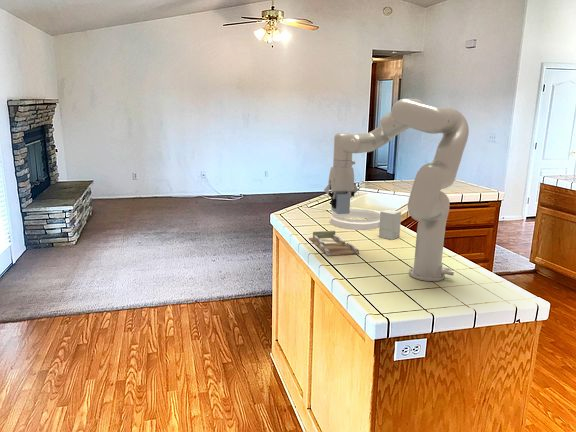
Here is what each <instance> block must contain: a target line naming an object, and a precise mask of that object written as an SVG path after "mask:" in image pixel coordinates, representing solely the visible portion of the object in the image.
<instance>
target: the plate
mask: <svg viewBox="0 0 576 432" xmlns="http://www.w3.org/2000/svg"><path fill="white" fill-rule="evenodd" d="M354 218H357V219H354ZM329 220H330V224H331V225H332V226H334V227H337V228H340V229H345V230H355V231H371V230H376V229H377V230H378V229H379V227H380V212H376V211H375V210H369V209H362V208H350V212H349V214H337V213H335V212H334V211H332V213H331V215H330V219H329Z"/></svg>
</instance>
